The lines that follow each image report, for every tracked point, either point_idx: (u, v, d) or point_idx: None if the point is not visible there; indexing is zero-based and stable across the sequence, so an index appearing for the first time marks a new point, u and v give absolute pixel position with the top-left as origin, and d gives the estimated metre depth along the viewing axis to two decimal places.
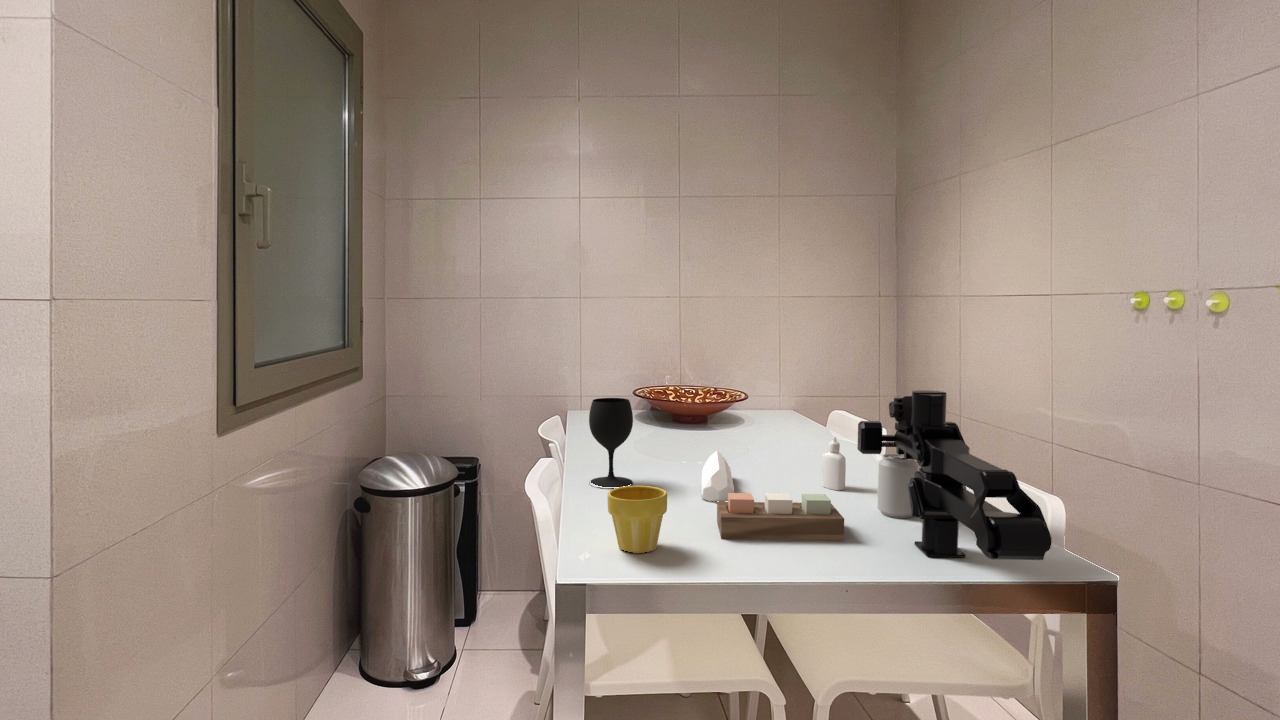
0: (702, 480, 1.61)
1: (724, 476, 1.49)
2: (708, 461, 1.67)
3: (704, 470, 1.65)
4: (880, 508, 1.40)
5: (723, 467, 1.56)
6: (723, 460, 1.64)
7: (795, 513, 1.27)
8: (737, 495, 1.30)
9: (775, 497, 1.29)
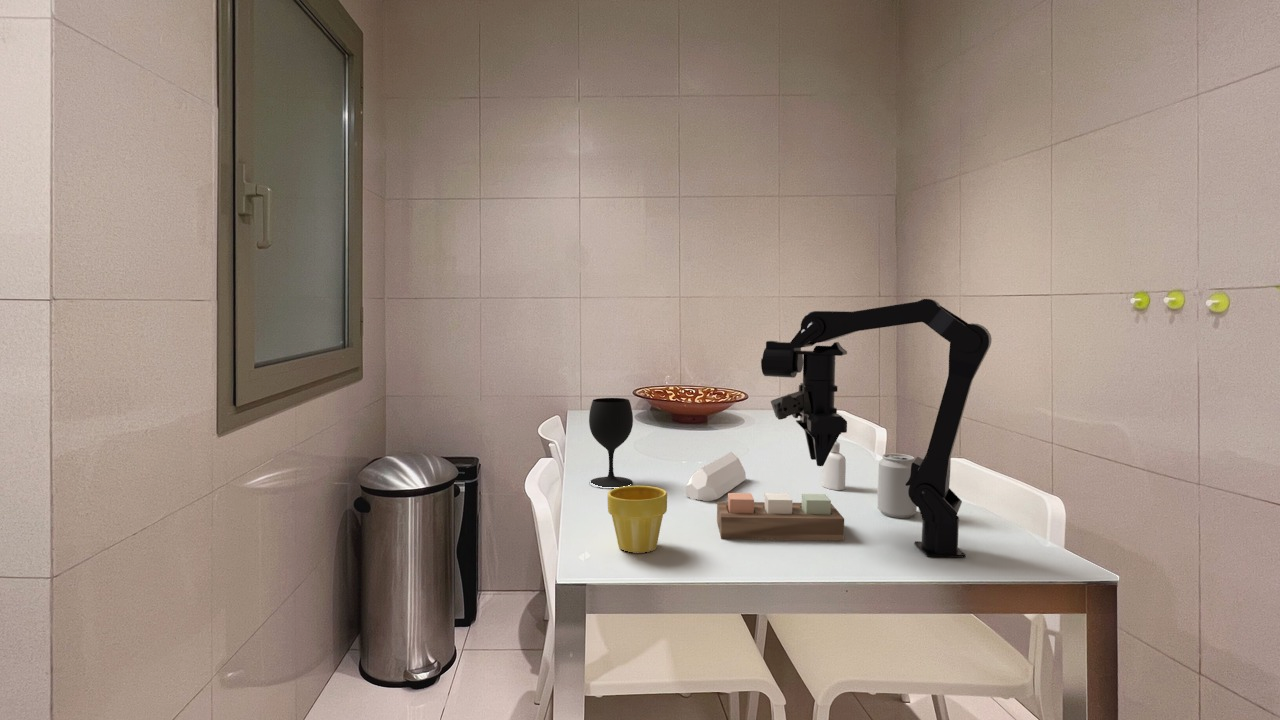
0: None
1: (705, 475, 1.50)
2: None
3: None
4: (880, 508, 1.40)
5: (716, 467, 1.56)
6: (730, 461, 1.63)
7: (795, 513, 1.27)
8: (737, 495, 1.30)
9: (775, 497, 1.29)
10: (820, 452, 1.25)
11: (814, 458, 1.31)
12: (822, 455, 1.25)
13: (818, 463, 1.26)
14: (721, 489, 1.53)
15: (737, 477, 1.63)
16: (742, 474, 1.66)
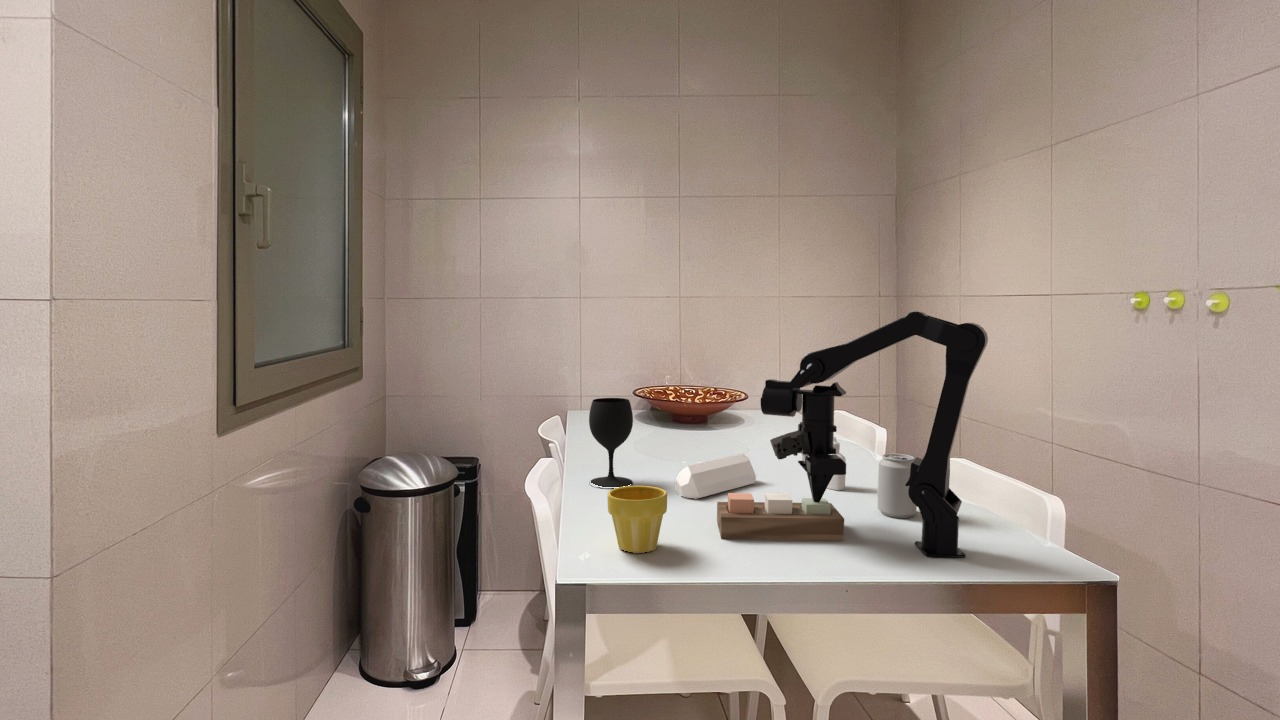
0: None
1: (689, 473, 1.52)
2: None
3: None
4: (880, 508, 1.40)
5: (710, 466, 1.56)
6: (734, 462, 1.62)
7: (795, 513, 1.27)
8: (737, 495, 1.30)
9: (775, 497, 1.29)
10: (816, 489, 1.28)
11: None
12: (818, 491, 1.28)
13: (815, 499, 1.29)
14: (709, 489, 1.53)
15: (740, 479, 1.61)
16: (750, 477, 1.63)
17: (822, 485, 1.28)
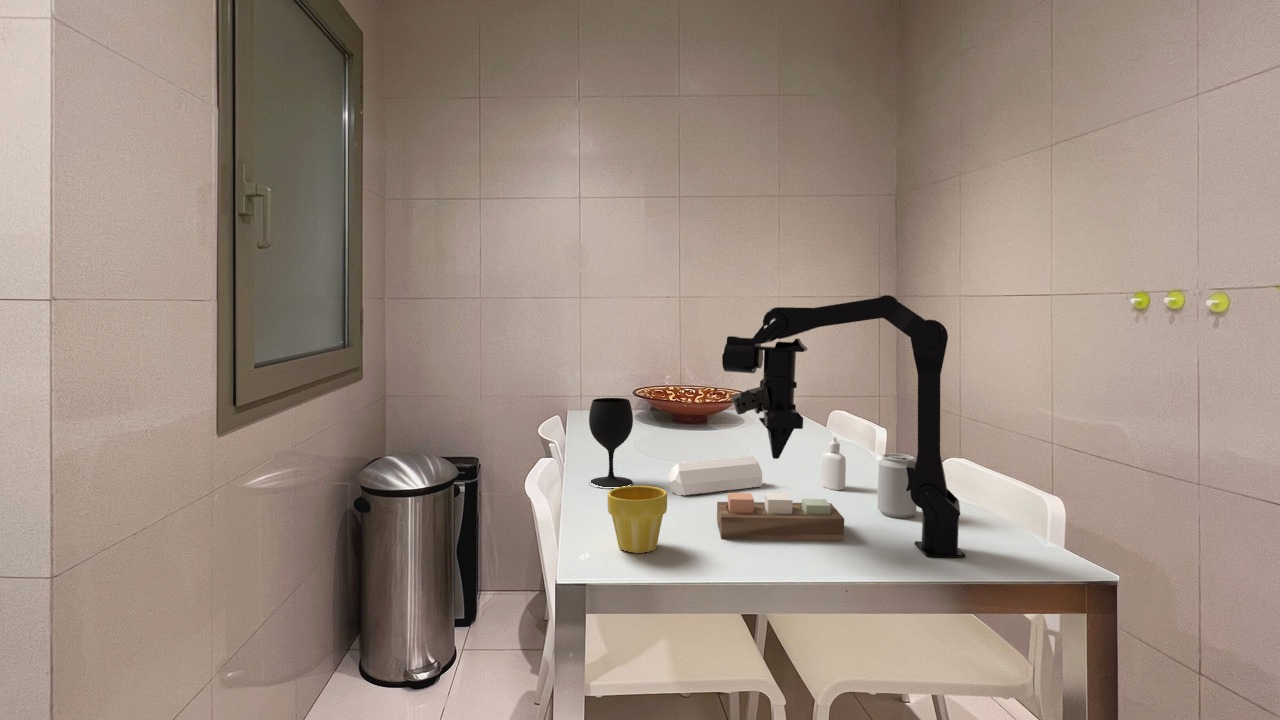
0: None
1: (677, 470, 1.55)
2: None
3: None
4: (880, 508, 1.40)
5: (704, 466, 1.57)
6: (737, 464, 1.60)
7: (795, 513, 1.27)
8: (737, 495, 1.30)
9: (775, 497, 1.29)
10: (776, 445, 1.28)
11: None
12: (778, 448, 1.28)
13: (774, 456, 1.29)
14: (698, 487, 1.54)
15: (741, 481, 1.59)
16: (754, 480, 1.60)
17: (781, 441, 1.27)
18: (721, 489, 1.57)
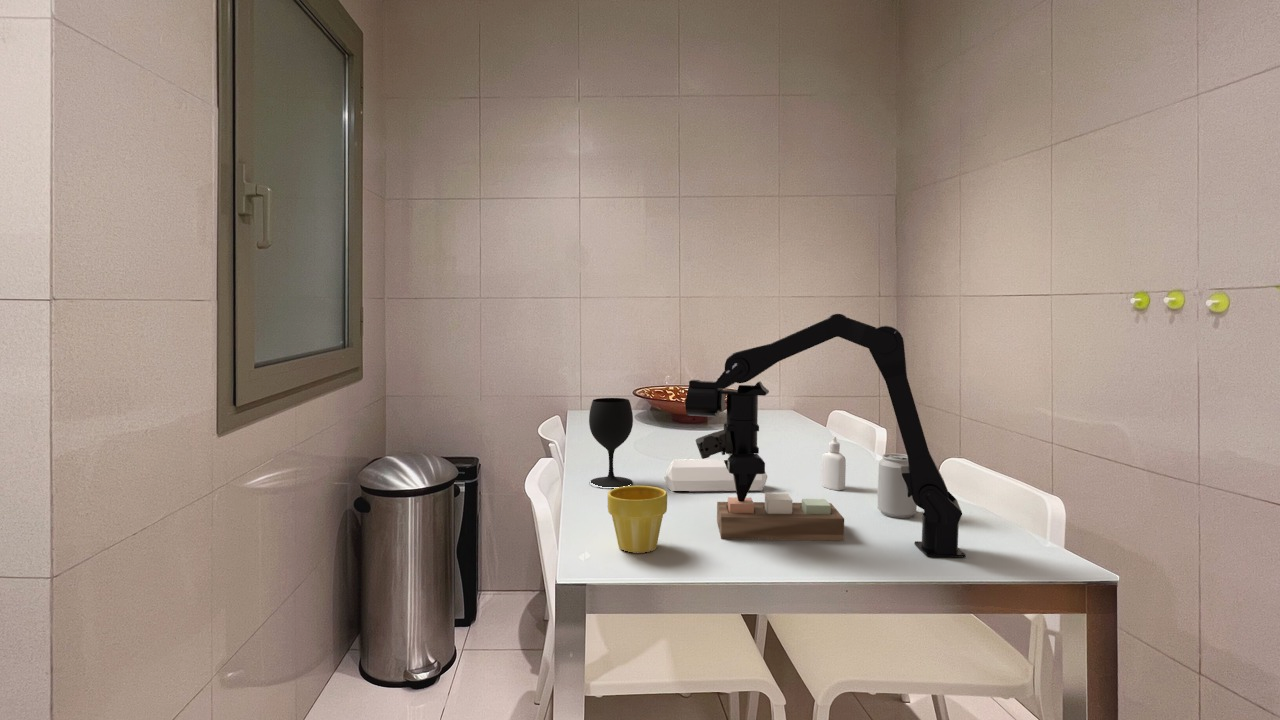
0: None
1: (671, 466, 1.58)
2: None
3: None
4: (880, 508, 1.40)
5: (701, 464, 1.59)
6: None
7: (795, 513, 1.27)
8: (737, 500, 1.30)
9: (775, 497, 1.29)
10: (740, 488, 1.28)
11: None
12: (742, 491, 1.29)
13: (739, 498, 1.29)
14: (689, 485, 1.57)
15: None
16: (753, 483, 1.57)
17: (746, 484, 1.28)
18: (715, 489, 1.57)
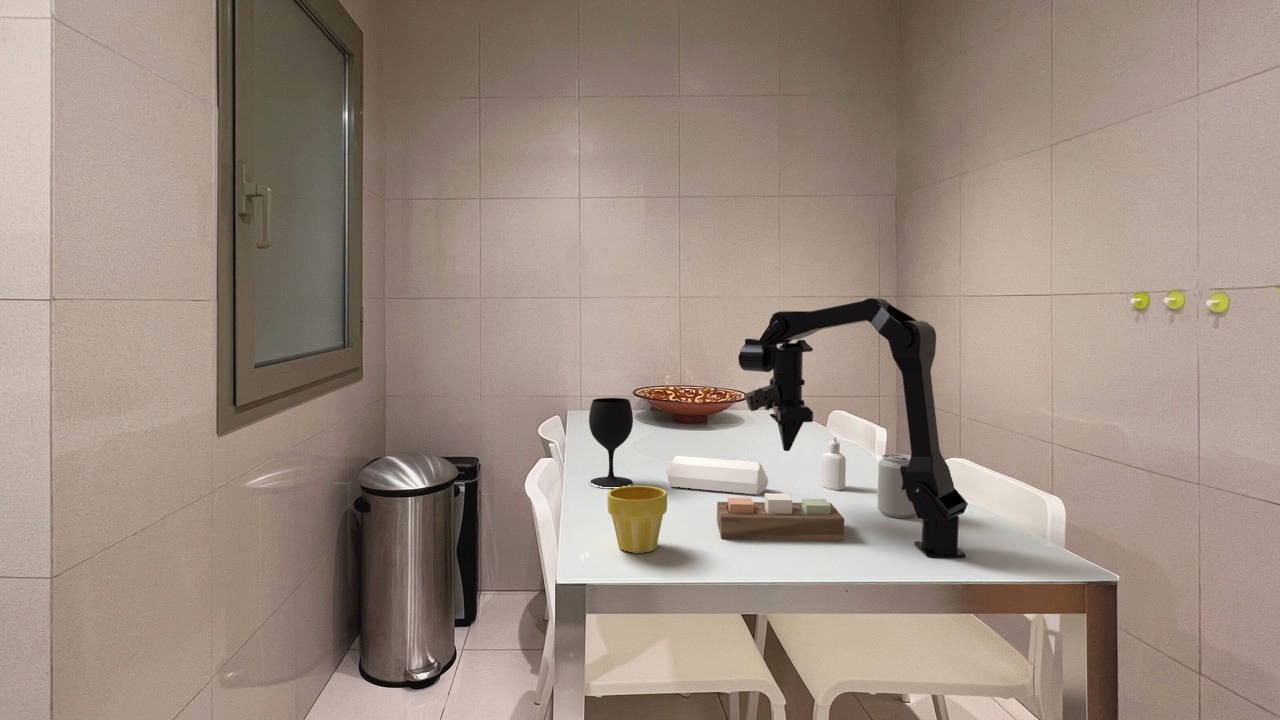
0: None
1: None
2: None
3: None
4: (880, 508, 1.40)
5: (699, 463, 1.60)
6: (735, 467, 1.57)
7: (795, 513, 1.27)
8: (737, 500, 1.30)
9: (775, 497, 1.29)
10: (786, 438, 1.39)
11: None
12: (788, 441, 1.39)
13: (785, 448, 1.39)
14: (684, 481, 1.59)
15: (732, 484, 1.56)
16: (748, 486, 1.55)
17: (792, 435, 1.38)
18: (709, 488, 1.57)
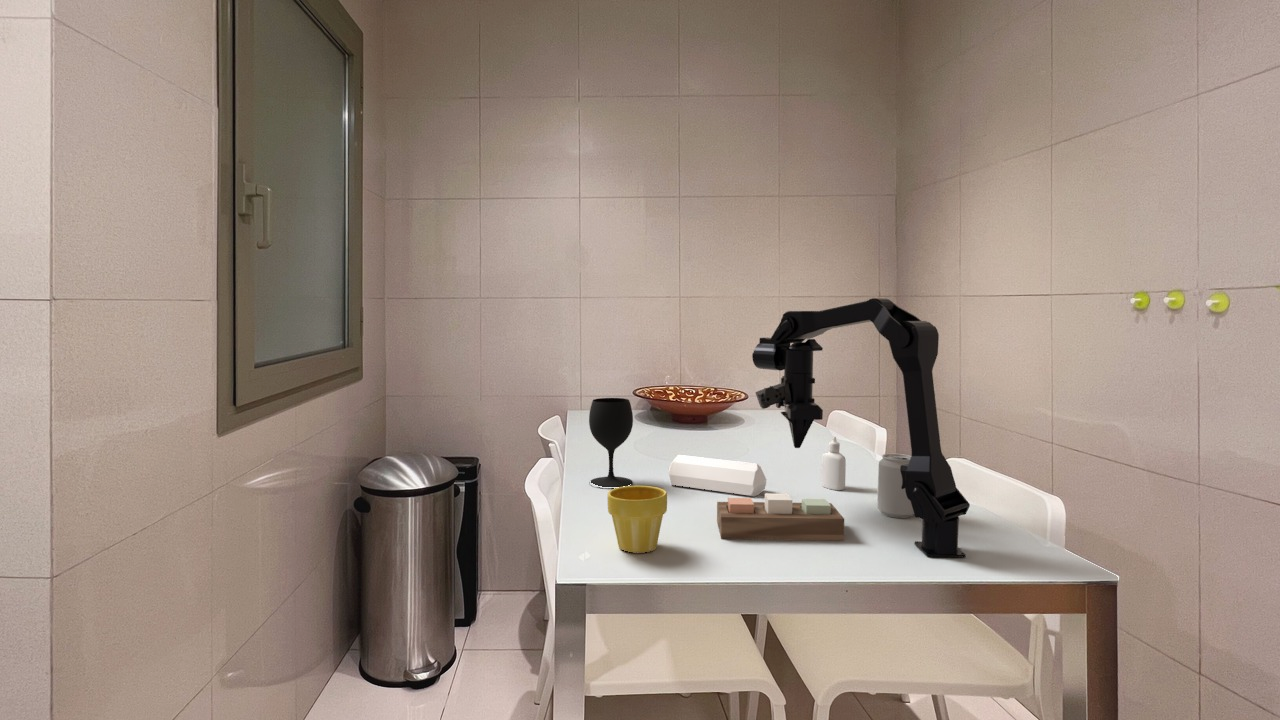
0: None
1: None
2: None
3: None
4: (880, 508, 1.40)
5: (699, 462, 1.61)
6: (733, 467, 1.57)
7: (795, 513, 1.27)
8: (737, 500, 1.30)
9: (775, 497, 1.29)
10: (797, 435, 1.41)
11: None
12: (799, 438, 1.41)
13: (795, 445, 1.42)
14: (684, 480, 1.61)
15: (729, 484, 1.55)
16: (744, 487, 1.54)
17: (802, 432, 1.41)
18: (707, 488, 1.58)
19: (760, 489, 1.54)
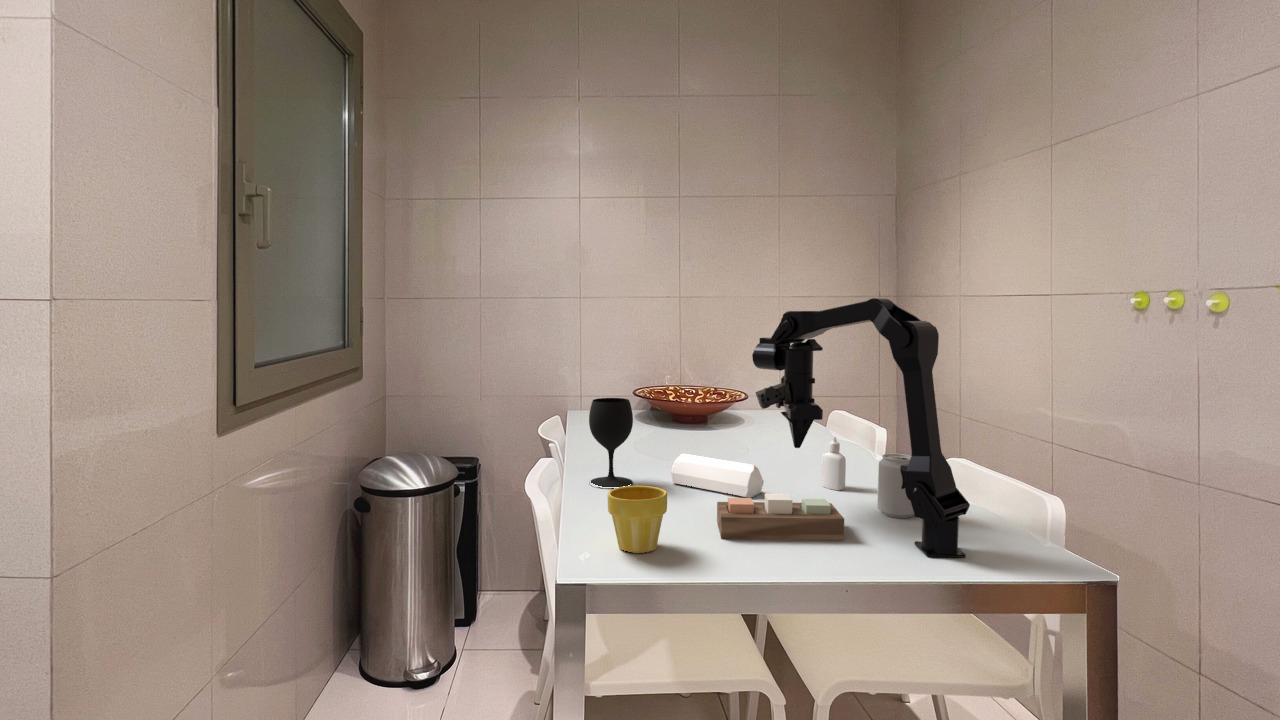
0: None
1: None
2: None
3: None
4: (880, 508, 1.40)
5: (700, 461, 1.62)
6: (731, 468, 1.56)
7: (795, 513, 1.27)
8: (737, 500, 1.30)
9: (775, 497, 1.29)
10: (797, 435, 1.41)
11: None
12: (799, 438, 1.41)
13: (795, 445, 1.42)
14: (684, 479, 1.62)
15: (725, 485, 1.55)
16: (739, 488, 1.53)
17: (802, 432, 1.41)
18: (705, 487, 1.58)
19: (756, 491, 1.53)
